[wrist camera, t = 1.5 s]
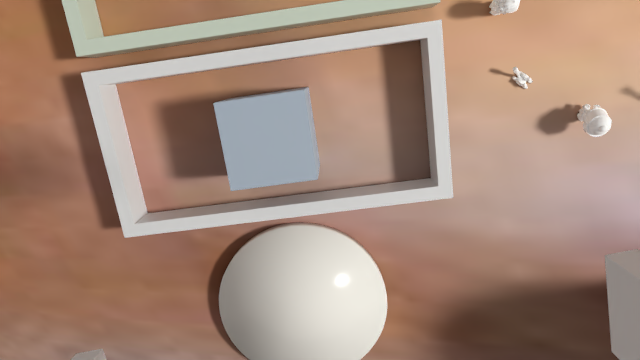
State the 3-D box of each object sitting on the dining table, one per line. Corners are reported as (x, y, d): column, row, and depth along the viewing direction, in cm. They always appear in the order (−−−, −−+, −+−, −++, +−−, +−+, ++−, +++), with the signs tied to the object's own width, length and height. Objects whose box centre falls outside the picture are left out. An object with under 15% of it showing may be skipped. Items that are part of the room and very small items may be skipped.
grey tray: (138, 226, 36) (124, 237, 33) (99, 72, 33) (80, 72, 30) (444, 188, 34) (453, 197, 32) (433, 23, 31) (441, 19, 29)
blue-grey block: (245, 173, 34) (230, 190, 30) (230, 98, 33) (213, 103, 28) (320, 163, 34) (317, 179, 29) (308, 86, 33) (304, 89, 28)
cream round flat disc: (238, 377, 39) (235, 385, 38) (206, 233, 36) (203, 237, 35) (393, 362, 38) (395, 369, 37) (376, 212, 35) (378, 216, 34)
